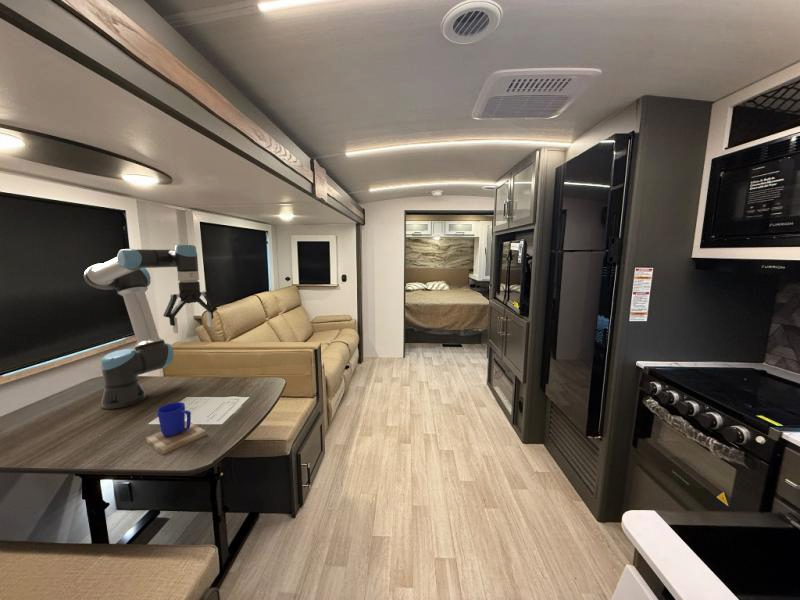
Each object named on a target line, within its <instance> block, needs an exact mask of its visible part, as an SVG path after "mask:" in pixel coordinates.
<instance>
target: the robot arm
mask: <svg viewBox="0 0 800 600" xmlns="http://www.w3.org/2000/svg"><path fill="white" fill-rule="evenodd" d="M152 268H153V269H154V268H155V269H156V268H157V269H158V268H176V272H177V273H176V274H177V280H178V291H179V293H178V294H176V293H171V294H170V299H169V302H168V303H167V306H166V308H165V310H164V313H163V315H162V316H163V317H165V318H168V319H169V325H170V326H172V331H173V333H174V334H179V326H178V318H177V317H176V316H177V315H178V313H179V312H180V311H181V309H182V308H183V307H184V305H186V304H191V303H198V304H199V305H200V306H201V307H202V308H203V309H205V310H206V321H207V322H206V323H207V325H206V326H207V327H208V328H212V327H213V319H214V313H215V311H218V307H217V306H216V304H215V302H214V301H213V300H212V299H211V297H210V294H209V290H208V291H207V290H203V291H201V285H200V281H199V280H200V274H199V263H198V252H197V247H196V246H195V245H193V244H177V245H175V246H174V249H171V248H170V249H146V248H145V249H144V248H141V249H139V248H135V249H134V248H125V249H124V248H123V249H120V250H119V251H118V253H117V256H116V257H114V258H112V259H110V260H108V261H105V262H104V263H96V264H93V265H91V266H89V267H87V269H85V271H84V274H83V279H84V280H85V282H86V283H87V284H88V285H89V286H90V287H93V288H95V289H99V290H105V291H106V290H108V291H109V290H116V292H117V295H120V296H121V297H123V301H124V305H125V307H126V311H127V313H128V314H127V315H128V316H129V319H130V320H129V321H130V323H131V326H132V330H133V333H134V336H135V339H136V345H135V346H134V348H124V349H120V350H115V351H112V352H110V353H108V354H106V355H104V356H103V357H102V359H101V360H100V362H101V367H100V368H101V371H102V372H101V373H102V378H103V385H104V391H103V395H102V398H101V401H100V402H101V403H100V404H101V408H102V407H103V408H102V409H105V410H113V409H114V410H115V408H116V409H122V408H125V407H129V405H130V406H132V405H135V404H137V403H140V402H141V401H143V400H144V399H145V398H146V391H145V389H144V388H143V386H142V385H141V383H140V382H139V376H140V375H144V374H147V373H150V372H153V371H157V370H161V369H164V368H167V367H169V366H170V365H171V364H172V362H173V360H174V355H175V354H174V348H173V346H171V344H170V343H167V342H165V339H163V338H161V337H160V336H159V332H158V330H157V326H156V323H155V320H154V316H153V313H152V310H151V307H150V304H149V301H148V298H147V293H146V292H147V291H148V288H149V286H150V285H151V274H150V272H149V271H148V269H152ZM201 296H202V297H203V298H204V299H205V301H203V299H202V298H201ZM178 299H179V301H178V303H177V305H175V304H176V302H177V300H178ZM205 302H207V303H205ZM174 306H175V307H174Z"/></svg>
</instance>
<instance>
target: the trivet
mask: <svg viewBox="0 0 800 600" xmlns="http://www.w3.org/2000/svg"><path fill="white" fill-rule="evenodd" d="M186 427H187V420H185V428H186ZM206 435H207V431H206V430H205V429H203V428H201V427H200V426H198V425H197V424H195V423H193V422H192V421H191V423H190V427H189V429H188V430H186V431H182V432H181V433H179V434H177V435H174V436H164V435H163V434H162V431H161V430H160V431H159V432H155V433H153V434H151V435H149V436H146V437H145V442H147V443H148V444H149V445H150V446H151V447H153V449H155V450H156V451H158V453H160V454H161V455H165V454H168V453H169V452H171V451H174V450H176V449H178V448H180V447H182V446H185V445H187V444H190V443H191V442H193V441H196V440H198V439H200V438H202V437H205V436H206Z"/></svg>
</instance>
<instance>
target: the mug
mask: <svg viewBox="0 0 800 600" xmlns="http://www.w3.org/2000/svg"><path fill="white" fill-rule="evenodd" d="M156 413H157V417H158V421H159V425H160V426H159V427H160V431H162V434H163V435H164V436H174V435H177V434H179V433H181V432H182V431H186V430H188V429H189V427H190V423H191V422H192V416H191V415H192V413H191V411H190V410H188V409H187V410H186V406H185V403H184V402H181V401H180V402H178V401H175V402H170V403H167V404H164V405H161V406H160V407H159V408H158V409H157V410H156ZM185 416H186V417H185ZM185 418H186V419H185ZM185 421H187V427H186V428H185Z"/></svg>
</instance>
